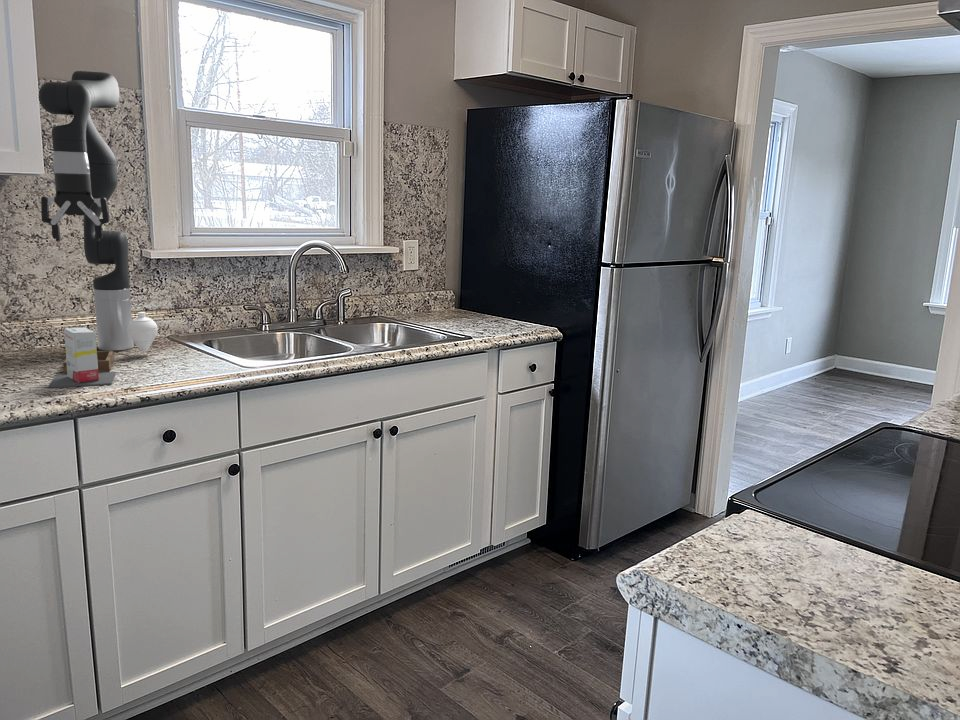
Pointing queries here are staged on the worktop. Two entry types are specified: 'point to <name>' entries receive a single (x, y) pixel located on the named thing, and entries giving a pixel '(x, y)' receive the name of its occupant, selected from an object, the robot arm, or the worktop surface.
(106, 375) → the rubber mat
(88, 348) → the ink box
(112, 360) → the holder box
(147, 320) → the spinning top
